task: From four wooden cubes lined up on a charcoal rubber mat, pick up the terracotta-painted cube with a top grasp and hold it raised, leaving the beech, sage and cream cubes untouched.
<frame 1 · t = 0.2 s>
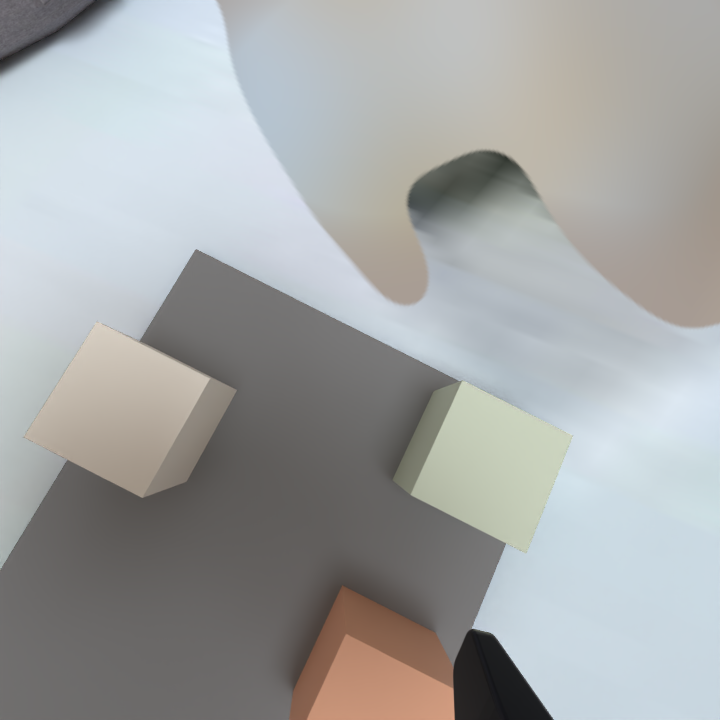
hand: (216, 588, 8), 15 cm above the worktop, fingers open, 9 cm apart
cream block: (167, 412, 22), resting on slate mat
slate mat: (249, 583, 21), on the worktop
terracotta block: (365, 661, 20), resting on slate mat
sage block: (457, 456, 22), resting on slate mat
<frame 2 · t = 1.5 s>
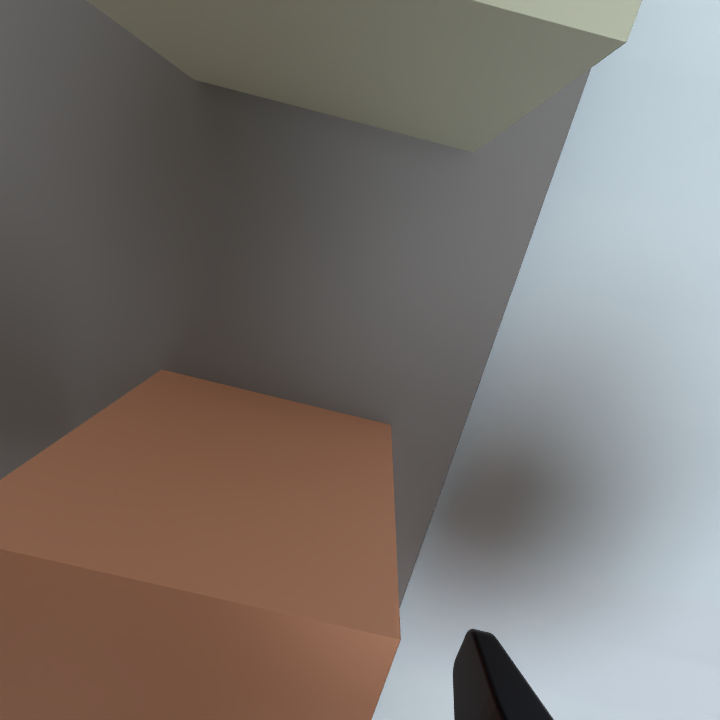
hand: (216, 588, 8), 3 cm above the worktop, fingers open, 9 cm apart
terracotta block: (258, 494, 10), resting on slate mat
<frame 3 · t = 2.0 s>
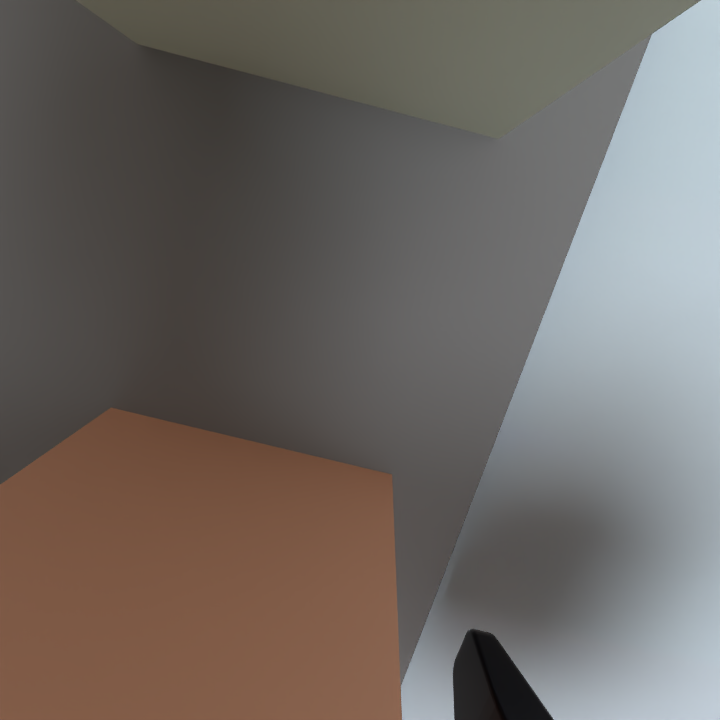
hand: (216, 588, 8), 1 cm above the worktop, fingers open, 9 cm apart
terracotta block: (232, 553, 8), resting on slate mat
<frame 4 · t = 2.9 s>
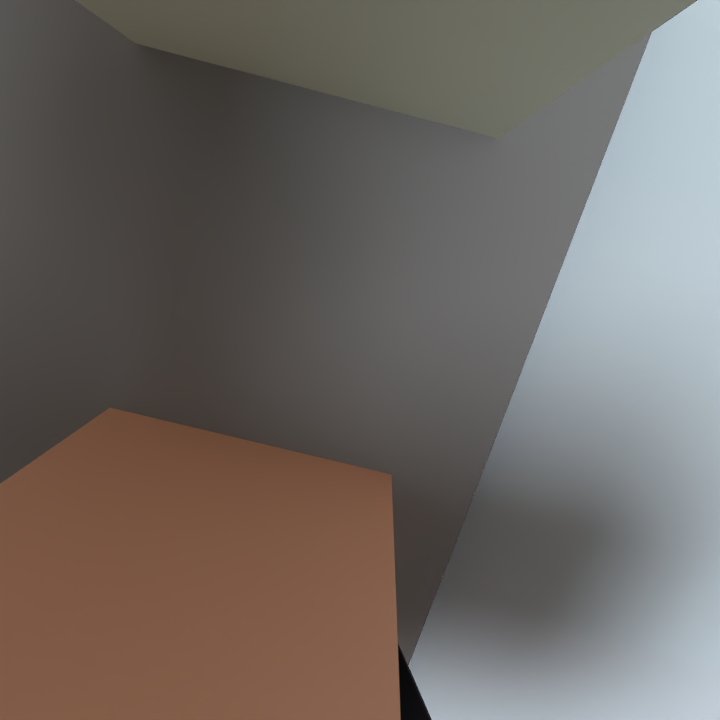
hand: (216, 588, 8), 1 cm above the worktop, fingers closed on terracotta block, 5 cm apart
terracotta block: (231, 553, 8), resting on slate mat, touching gripper
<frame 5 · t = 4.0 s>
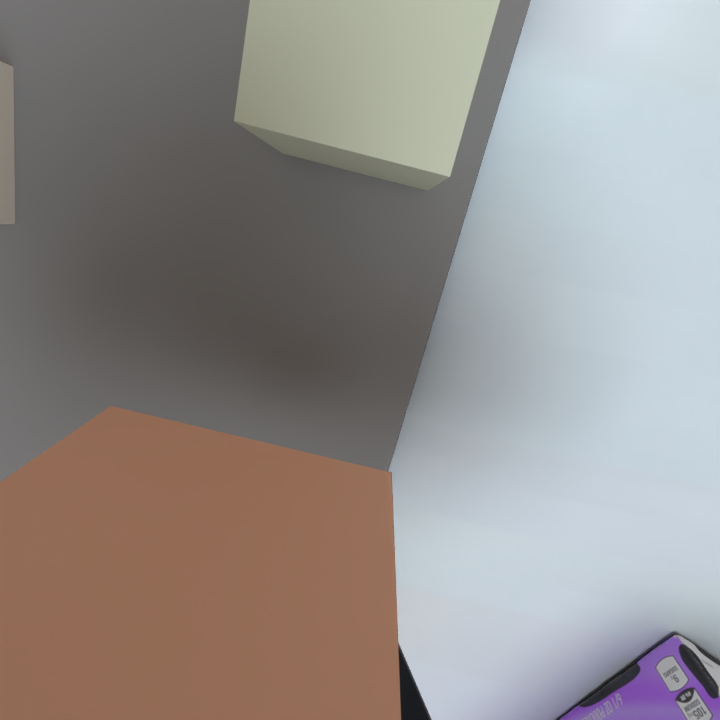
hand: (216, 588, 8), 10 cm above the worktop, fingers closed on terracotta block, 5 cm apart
slate mat: (151, 331, 17), on the worktop
terracotta block: (232, 551, 8), point 10 cm above the worktop, touching gripper
sage block: (373, 89, 14), resting on slate mat
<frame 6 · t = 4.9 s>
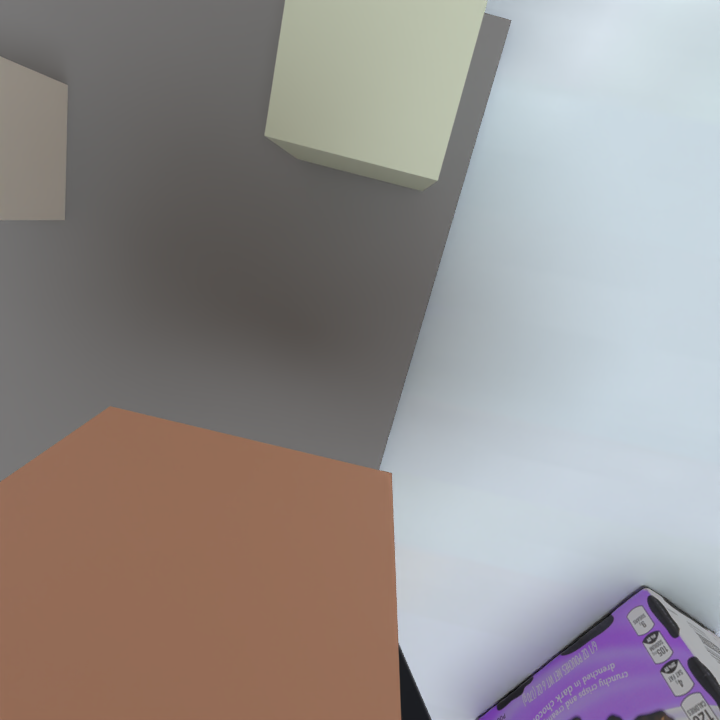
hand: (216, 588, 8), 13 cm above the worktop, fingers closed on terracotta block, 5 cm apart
cream block: (3, 139, 17), resting on slate mat
slate mat: (180, 314, 20), on the worktop
candy box: (586, 675, 25), on the worktop
terracotta block: (231, 552, 8), point 12 cm above the worktop, touching gripper
sage block: (375, 104, 16), resting on slate mat
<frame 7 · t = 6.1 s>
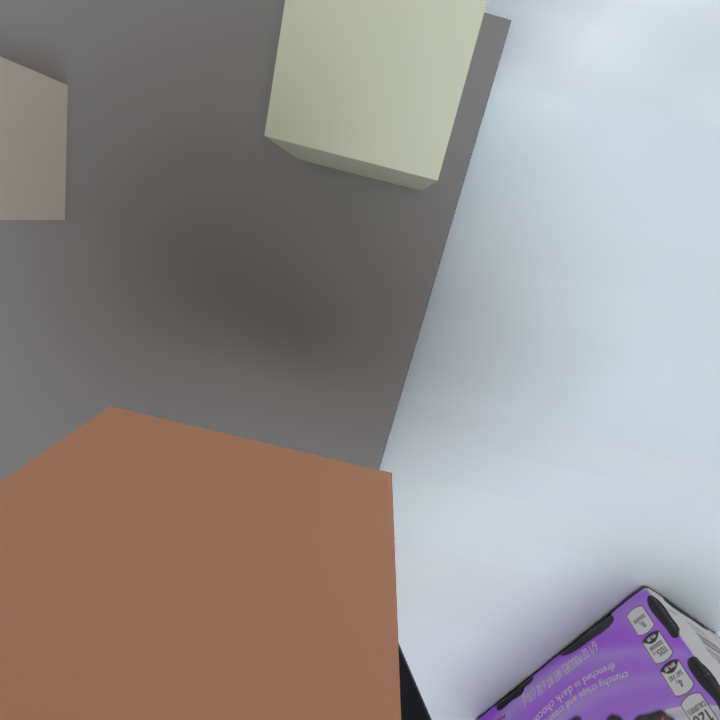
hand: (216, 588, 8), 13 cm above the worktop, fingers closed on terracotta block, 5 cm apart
cream block: (3, 139, 17), resting on slate mat
slate mat: (180, 314, 19), on the worktop
candy box: (586, 675, 25), on the worktop
terracotta block: (231, 552, 8), point 12 cm above the worktop, touching gripper
sage block: (375, 104, 16), resting on slate mat
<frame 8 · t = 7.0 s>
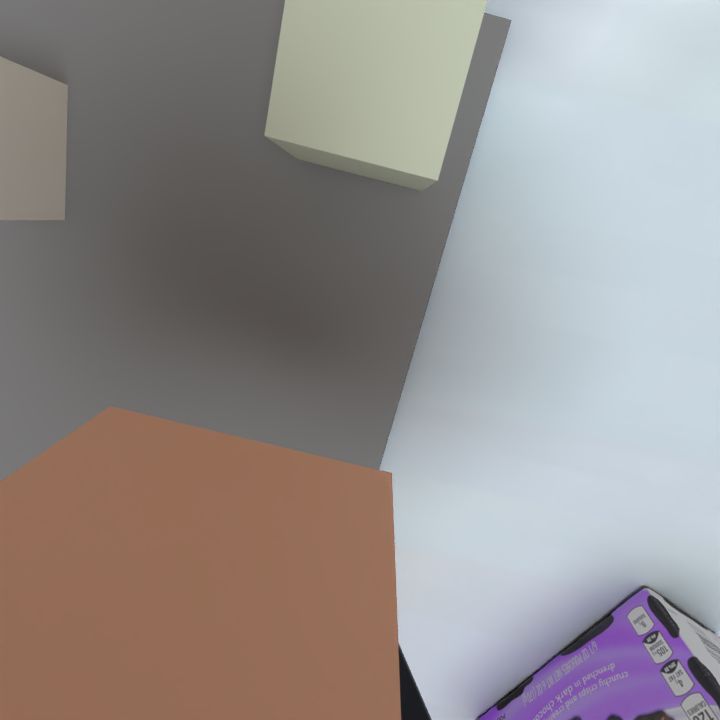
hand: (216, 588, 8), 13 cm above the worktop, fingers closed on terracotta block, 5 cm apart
cream block: (3, 139, 17), resting on slate mat
slate mat: (180, 314, 19), on the worktop
candy box: (586, 675, 25), on the worktop
terracotta block: (231, 552, 8), point 12 cm above the worktop, touching gripper
sage block: (375, 104, 16), resting on slate mat
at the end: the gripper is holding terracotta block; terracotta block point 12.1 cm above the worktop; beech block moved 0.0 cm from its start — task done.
